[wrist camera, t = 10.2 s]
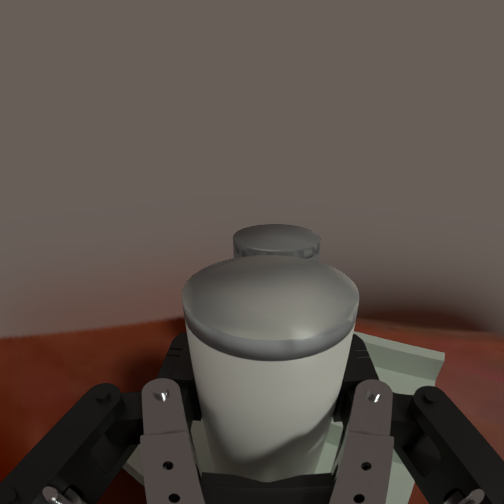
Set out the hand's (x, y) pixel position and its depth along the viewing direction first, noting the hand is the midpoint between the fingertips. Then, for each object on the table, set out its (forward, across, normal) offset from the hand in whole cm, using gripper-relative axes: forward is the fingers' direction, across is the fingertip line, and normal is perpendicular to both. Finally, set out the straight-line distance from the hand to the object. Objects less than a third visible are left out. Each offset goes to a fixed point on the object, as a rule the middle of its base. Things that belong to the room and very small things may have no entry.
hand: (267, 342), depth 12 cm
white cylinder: (-3, 0, +6) cm, 7 cm away
